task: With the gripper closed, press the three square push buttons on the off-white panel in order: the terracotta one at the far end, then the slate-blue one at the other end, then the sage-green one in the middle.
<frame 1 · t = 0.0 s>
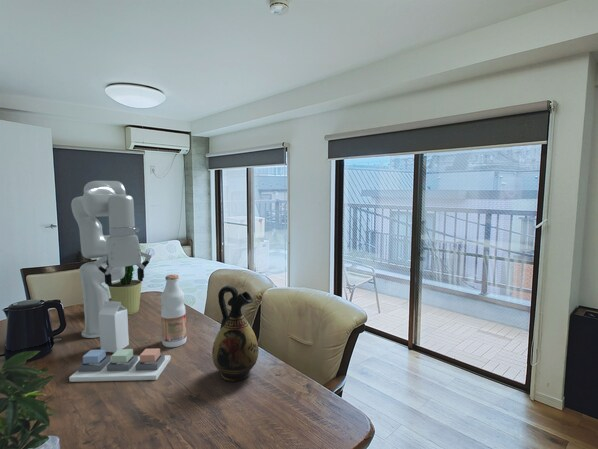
hand: (125, 283, 116), 31 cm above the table, tool pointing down, fingers open, 9 cm apart
button panel: (123, 369, 120), on the table
sage-green button: (122, 355, 120), point 5 cm above the table, slide at 0.0 cm
fruit juice: (174, 343, 142), on the table
milk carton: (115, 348, 137), on the table
potted cactus: (126, 311, 179), on the table
slate-blue button: (94, 356, 120), point 5 cm above the table, slide at 0.0 cm
terracotta button: (150, 355, 120), point 5 cm above the table, slide at 0.0 cm
ceramic jug: (234, 373, 118), on the table
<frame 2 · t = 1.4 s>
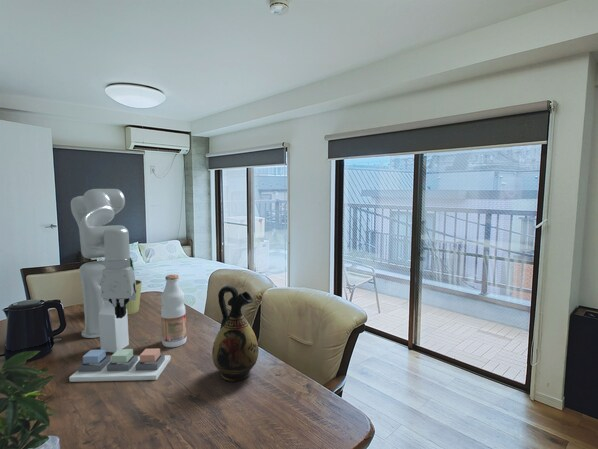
hand: (120, 316, 118), 19 cm above the table, tool pointing down, fingers closed
nothing on the table moved.
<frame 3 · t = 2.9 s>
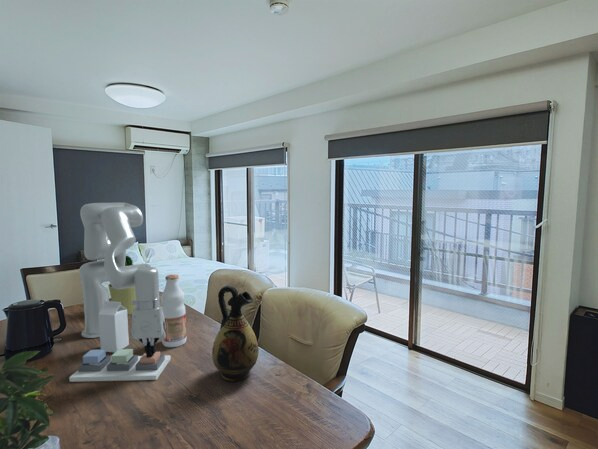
hand: (150, 355, 120), 5 cm above the table, tool pointing down, fingers closed
terracotta button: (150, 358, 120), point 4 cm above the table, slide at 1.2 cm, touching gripper
everything else where it was.
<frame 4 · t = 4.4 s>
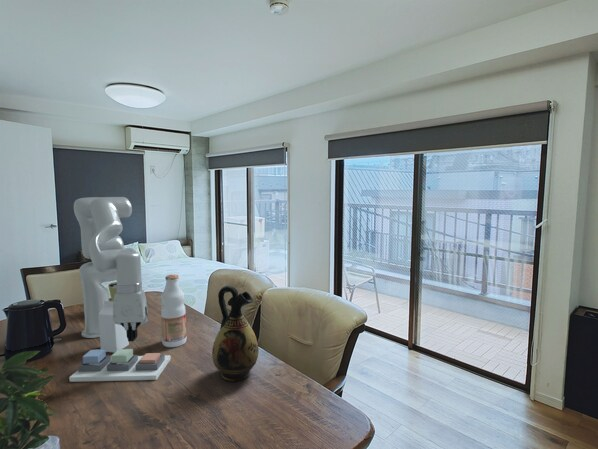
hand: (132, 339, 120), 11 cm above the table, tool pointing down, fingers closed
terracotta button: (150, 359, 120), point 3 cm above the table, slide at 1.7 cm
everything else where it was.
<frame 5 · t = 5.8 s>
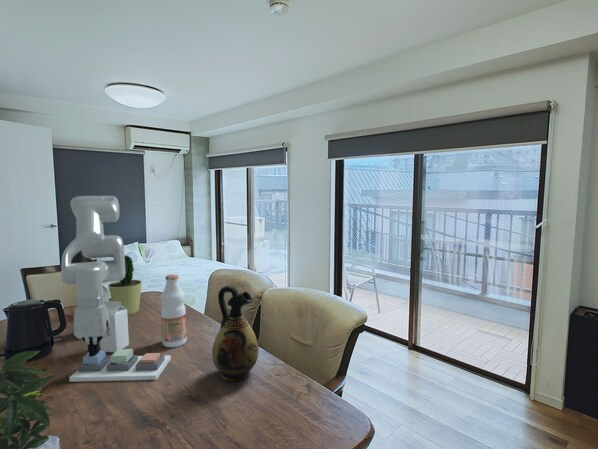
hand: (94, 354, 119), 6 cm above the table, tool pointing down, fingers closed
slate-blue button: (94, 357, 120), point 5 cm above the table, slide at 0.3 cm, touching gripper
everything else where it was.
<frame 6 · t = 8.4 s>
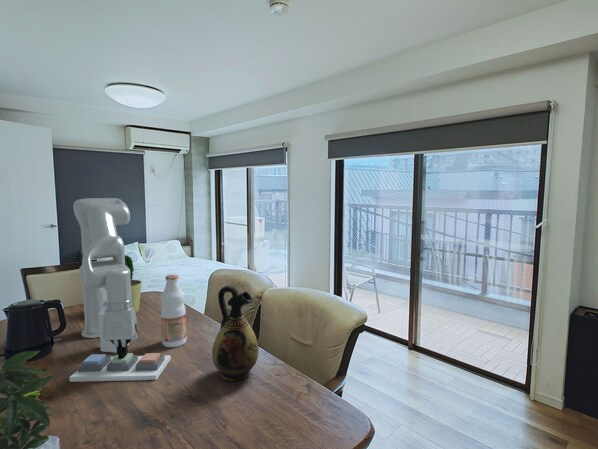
hand: (122, 356, 120), 5 cm above the table, tool pointing down, fingers closed
sage-green button: (122, 360, 120), point 4 cm above the table, slide at 1.5 cm, touching gripper
slate-blue button: (94, 361, 120), point 3 cm above the table, slide at 1.7 cm
everything else where it was.
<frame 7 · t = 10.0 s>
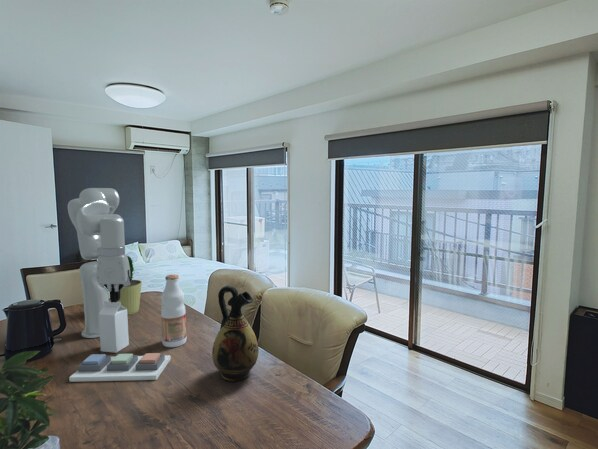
hand: (115, 301, 125), 22 cm above the table, tool pointing down, fingers closed
sage-green button: (122, 360, 120), point 3 cm above the table, slide at 1.7 cm
everything else where it was.
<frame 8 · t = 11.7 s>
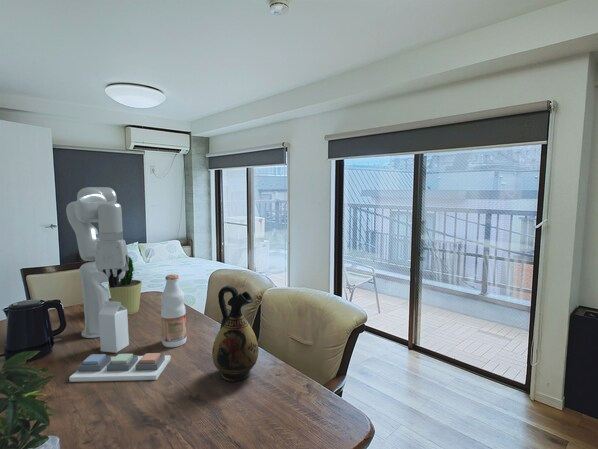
hand: (114, 286, 127), 27 cm above the table, tool pointing down, fingers closed
nothing on the table moved.
at the end: terracotta button slide at 1.7 cm; slate-blue button slide at 1.7 cm; sage-green button slide at 1.7 cm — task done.
